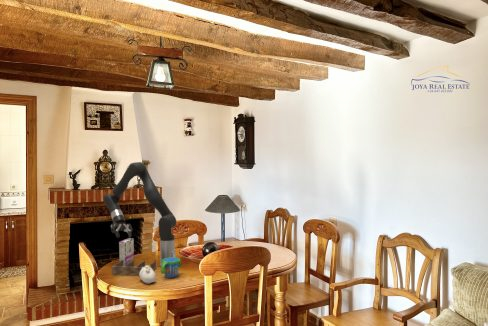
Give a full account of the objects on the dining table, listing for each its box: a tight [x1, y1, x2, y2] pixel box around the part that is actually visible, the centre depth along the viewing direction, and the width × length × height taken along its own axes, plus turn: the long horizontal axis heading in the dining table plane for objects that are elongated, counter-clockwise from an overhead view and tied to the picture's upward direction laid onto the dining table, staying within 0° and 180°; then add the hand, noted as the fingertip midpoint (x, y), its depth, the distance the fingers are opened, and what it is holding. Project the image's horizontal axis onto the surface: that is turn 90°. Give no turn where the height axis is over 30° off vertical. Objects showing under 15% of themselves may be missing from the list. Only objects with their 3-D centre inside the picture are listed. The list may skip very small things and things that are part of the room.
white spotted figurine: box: [138, 264, 157, 284], centre depth 212 cm, size 10×8×15 cm
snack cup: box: [160, 256, 182, 279], centre depth 221 cm, size 16×10×10 cm
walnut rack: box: [111, 259, 157, 277], centre depth 230 cm, size 23×15×5 cm, turn 84°
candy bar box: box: [118, 237, 135, 266], centre depth 245 cm, size 11×5×16 cm, turn 168°
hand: (124, 237), depth 242 cm, fingers open, 8 cm apart
